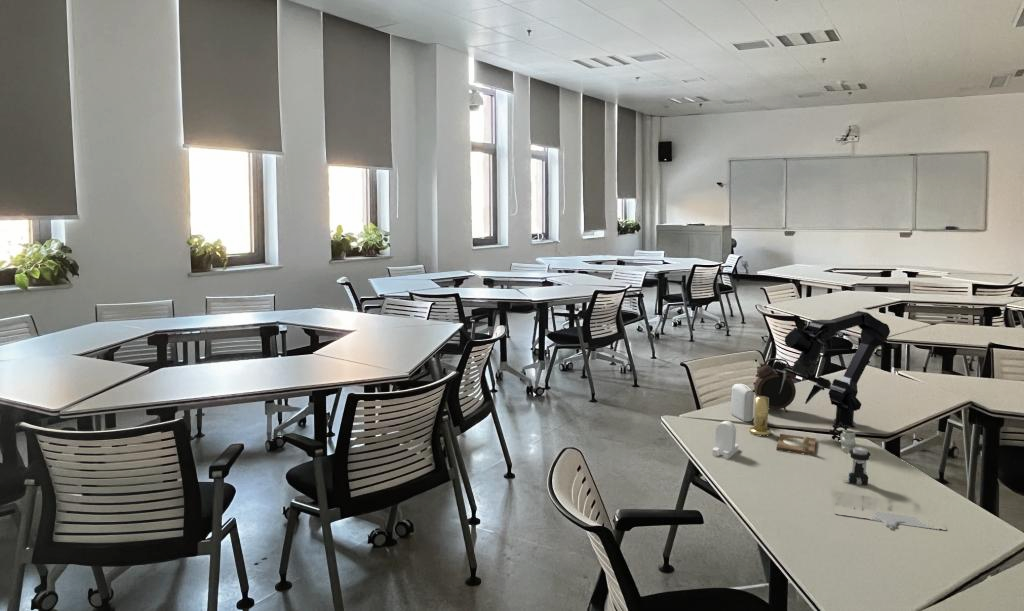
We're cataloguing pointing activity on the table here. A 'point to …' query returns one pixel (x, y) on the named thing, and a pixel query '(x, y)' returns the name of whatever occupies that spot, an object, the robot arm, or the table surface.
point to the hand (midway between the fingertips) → (792, 398)
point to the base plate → (796, 444)
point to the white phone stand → (725, 440)
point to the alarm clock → (774, 386)
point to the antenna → (898, 520)
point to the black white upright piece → (858, 466)
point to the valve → (844, 437)
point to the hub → (760, 417)
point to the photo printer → (742, 402)
